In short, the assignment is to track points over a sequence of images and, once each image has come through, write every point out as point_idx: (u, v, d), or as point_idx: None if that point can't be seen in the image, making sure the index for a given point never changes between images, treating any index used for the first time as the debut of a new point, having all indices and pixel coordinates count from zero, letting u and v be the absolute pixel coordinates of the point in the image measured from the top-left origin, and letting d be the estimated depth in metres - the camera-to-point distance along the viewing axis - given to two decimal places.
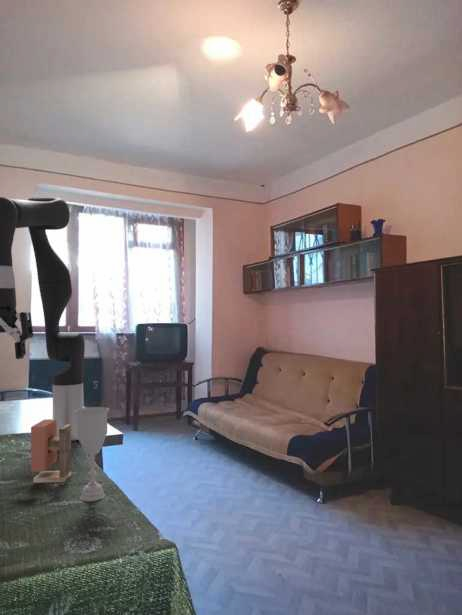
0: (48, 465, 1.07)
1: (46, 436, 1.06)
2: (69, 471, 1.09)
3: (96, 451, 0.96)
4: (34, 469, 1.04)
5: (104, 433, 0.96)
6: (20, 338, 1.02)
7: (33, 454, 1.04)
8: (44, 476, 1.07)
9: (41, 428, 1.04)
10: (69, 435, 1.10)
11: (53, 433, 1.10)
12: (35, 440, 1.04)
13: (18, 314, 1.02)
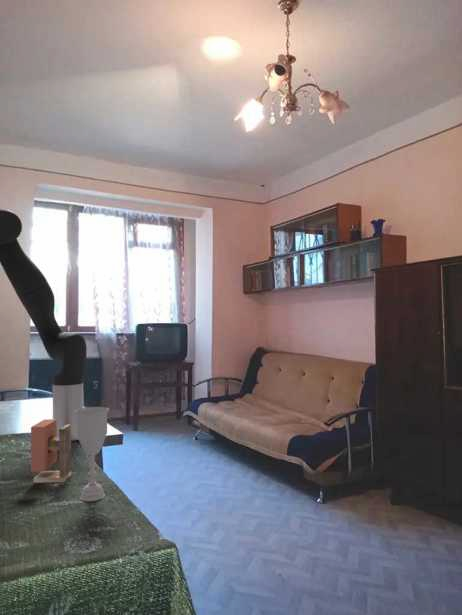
0: (48, 465, 1.07)
1: (46, 436, 1.06)
2: (69, 471, 1.09)
3: (96, 451, 0.96)
4: (34, 469, 1.04)
5: (104, 433, 0.96)
6: None
7: (33, 454, 1.04)
8: (44, 476, 1.07)
9: (41, 428, 1.04)
10: (69, 435, 1.10)
11: (53, 433, 1.10)
12: (35, 440, 1.04)
13: None
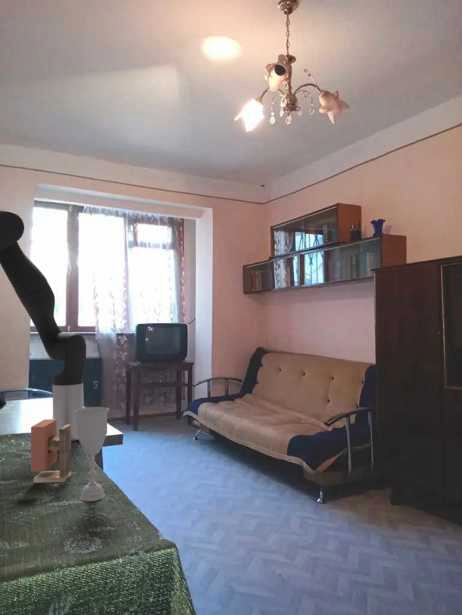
0: (48, 465, 1.07)
1: (46, 436, 1.06)
2: (69, 471, 1.09)
3: (96, 451, 0.96)
4: (34, 469, 1.04)
5: (104, 433, 0.96)
6: None
7: (33, 454, 1.04)
8: (44, 476, 1.07)
9: (41, 428, 1.04)
10: (69, 435, 1.10)
11: (53, 433, 1.10)
12: (35, 440, 1.04)
13: None
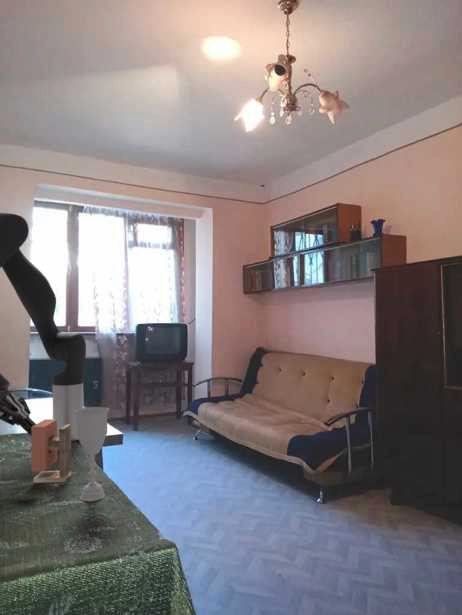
0: (48, 465, 1.07)
1: (47, 436, 1.06)
2: (69, 471, 1.09)
3: (96, 451, 0.96)
4: (35, 469, 1.04)
5: (104, 433, 0.96)
6: None
7: (33, 454, 1.04)
8: (44, 476, 1.07)
9: (42, 428, 1.04)
10: (69, 435, 1.10)
11: (53, 433, 1.10)
12: (36, 440, 1.04)
13: None
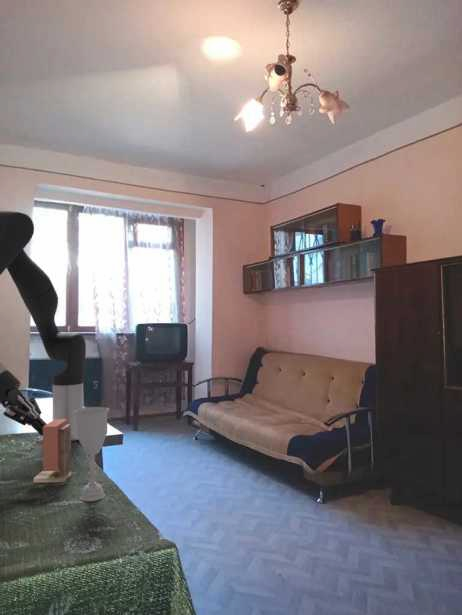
0: None
1: (58, 435, 1.06)
2: (69, 471, 1.09)
3: (96, 451, 0.96)
4: (46, 469, 1.04)
5: (104, 433, 0.96)
6: None
7: (45, 454, 1.04)
8: (44, 476, 1.07)
9: (53, 428, 1.05)
10: (69, 435, 1.10)
11: None
12: (47, 440, 1.04)
13: None
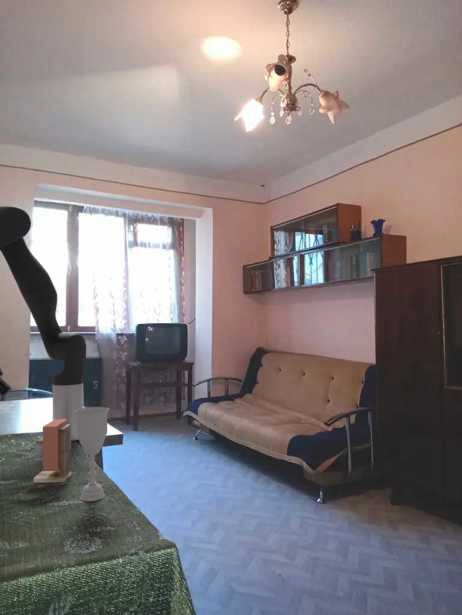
0: None
1: (58, 435, 1.06)
2: (69, 471, 1.09)
3: (96, 451, 0.96)
4: (46, 469, 1.04)
5: (104, 433, 0.96)
6: None
7: (45, 454, 1.04)
8: (44, 476, 1.07)
9: (53, 428, 1.05)
10: (69, 435, 1.10)
11: None
12: (47, 440, 1.04)
13: None
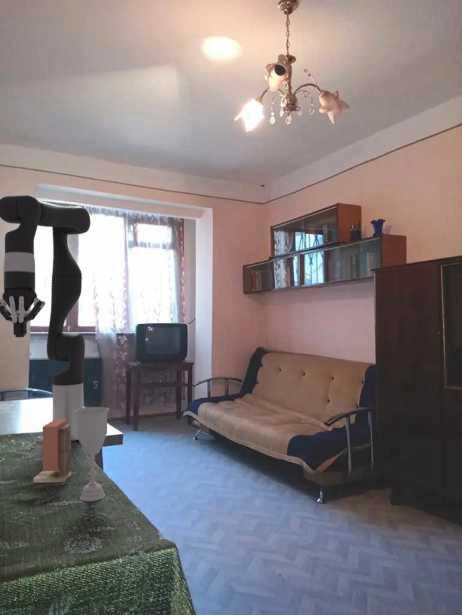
0: None
1: (58, 435, 1.06)
2: (69, 471, 1.09)
3: (96, 451, 0.96)
4: (46, 469, 1.04)
5: (104, 433, 0.96)
6: (23, 319, 1.20)
7: (45, 454, 1.04)
8: (44, 476, 1.07)
9: (53, 428, 1.05)
10: (69, 435, 1.10)
11: None
12: (47, 440, 1.04)
13: (36, 299, 1.21)
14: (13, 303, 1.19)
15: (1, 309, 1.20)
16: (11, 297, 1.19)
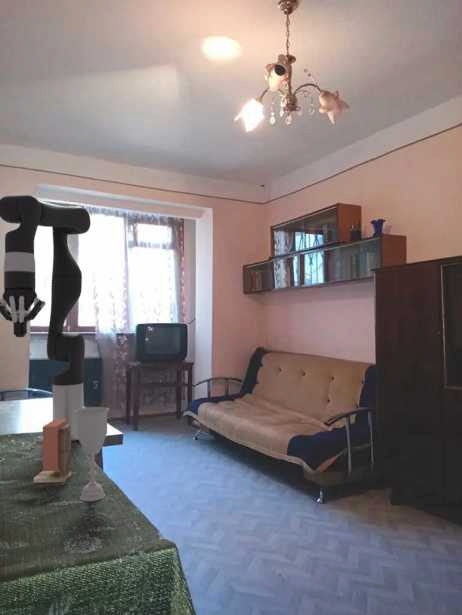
0: None
1: (58, 435, 1.06)
2: (69, 471, 1.09)
3: (96, 451, 0.96)
4: (46, 469, 1.04)
5: (104, 433, 0.96)
6: (23, 319, 1.20)
7: (45, 454, 1.04)
8: (44, 476, 1.07)
9: (53, 428, 1.05)
10: (69, 435, 1.10)
11: None
12: (47, 440, 1.04)
13: (37, 299, 1.21)
14: (13, 303, 1.19)
15: (1, 309, 1.20)
16: (11, 297, 1.19)
